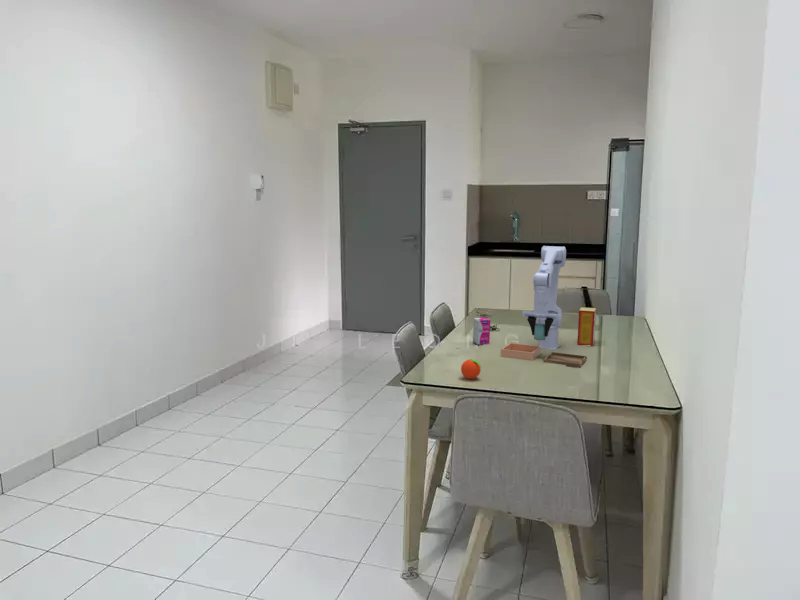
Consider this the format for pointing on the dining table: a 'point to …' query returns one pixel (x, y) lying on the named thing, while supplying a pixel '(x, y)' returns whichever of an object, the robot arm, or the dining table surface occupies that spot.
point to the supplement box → (481, 331)
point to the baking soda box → (586, 326)
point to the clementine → (470, 369)
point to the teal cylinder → (539, 332)
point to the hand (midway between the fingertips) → (539, 335)
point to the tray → (565, 359)
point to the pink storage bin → (521, 351)
